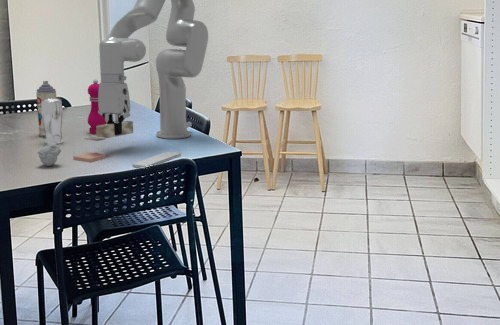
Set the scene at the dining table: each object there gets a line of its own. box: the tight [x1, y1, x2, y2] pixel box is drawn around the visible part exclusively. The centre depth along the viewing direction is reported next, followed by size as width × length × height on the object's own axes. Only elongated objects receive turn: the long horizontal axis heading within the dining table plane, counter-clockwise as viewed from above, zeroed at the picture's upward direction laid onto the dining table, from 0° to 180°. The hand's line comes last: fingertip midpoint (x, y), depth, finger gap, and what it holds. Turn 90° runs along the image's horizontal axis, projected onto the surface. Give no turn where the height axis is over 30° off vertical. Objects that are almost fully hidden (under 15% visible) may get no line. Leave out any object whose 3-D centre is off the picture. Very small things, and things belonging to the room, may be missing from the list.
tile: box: [73, 151, 107, 163], centre depth 209 cm, size 2×7×7 cm
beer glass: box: [42, 98, 64, 145], centre depth 229 cm, size 7×7×15 cm
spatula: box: [84, 120, 134, 142], centre depth 217 cm, size 20×5×4 cm, turn 153°
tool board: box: [131, 151, 182, 169], centre depth 206 cm, size 19×5×1 cm, turn 153°
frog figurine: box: [37, 143, 62, 167], centre depth 199 cm, size 6×7×7 cm
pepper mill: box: [87, 79, 107, 135], centre depth 246 cm, size 7×7×20 cm
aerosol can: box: [36, 80, 57, 138], centre depth 240 cm, size 7×7×20 cm
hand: (114, 133), depth 219 cm, fingers closed on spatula, 2 cm apart
